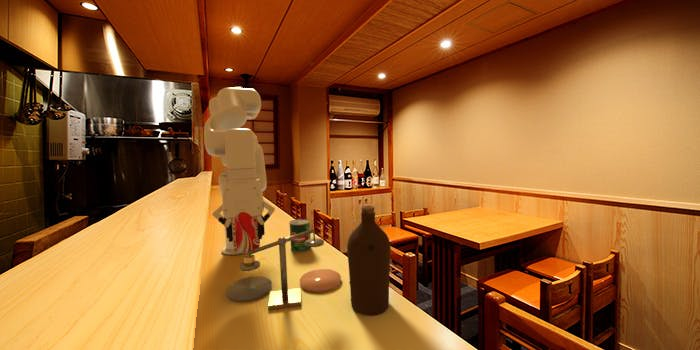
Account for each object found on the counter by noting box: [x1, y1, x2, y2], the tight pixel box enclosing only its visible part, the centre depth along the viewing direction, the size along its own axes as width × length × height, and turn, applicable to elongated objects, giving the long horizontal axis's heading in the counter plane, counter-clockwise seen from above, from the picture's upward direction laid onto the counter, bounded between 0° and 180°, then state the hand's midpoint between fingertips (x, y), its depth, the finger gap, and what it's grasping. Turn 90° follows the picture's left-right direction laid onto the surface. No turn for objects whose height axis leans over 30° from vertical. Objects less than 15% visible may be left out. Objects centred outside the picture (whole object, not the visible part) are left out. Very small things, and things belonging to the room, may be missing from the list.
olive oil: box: [346, 205, 391, 316], centre depth 69 cm, size 11×11×25 cm
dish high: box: [299, 268, 342, 293], centre depth 83 cm, size 12×12×1 cm
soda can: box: [231, 210, 261, 255], centre depth 78 cm, size 7×7×12 cm
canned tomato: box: [289, 218, 312, 253], centre depth 110 cm, size 8×8×11 cm
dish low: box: [225, 276, 273, 303], centre depth 79 cm, size 12×12×1 cm
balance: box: [238, 228, 325, 311], centre depth 73 cm, size 7×21×19 cm, turn 101°
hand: (246, 238), depth 78 cm, fingers closed on soda can, 7 cm apart
